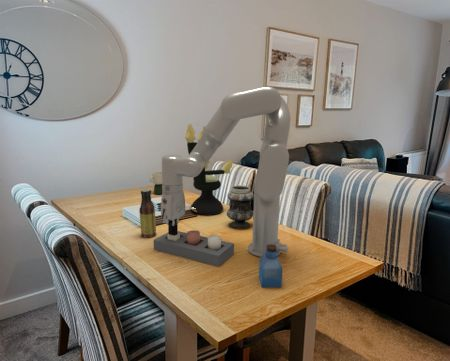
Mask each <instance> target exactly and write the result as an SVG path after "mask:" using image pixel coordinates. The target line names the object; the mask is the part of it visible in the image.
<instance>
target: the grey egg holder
mask: <svg viewBox="0 0 450 361" xmlns="http://www.w3.org/2000/svg"><path fill="white" fill-rule="evenodd" d="M178 233H180V239H178V240H176V241H174V240H169V239H168V238H167V234H168V231H167V232H165V233H163V234H162V235H160V236H158V237H156V238H155V239H153V250H154V251H156V252H161V253H164V254H168V255H172V256H177V257H181V258H184V259H188V260H191V261H196V262H200V263H203V264H207V265H211V266H215V267H218V268H219V267H220V266H221V265H222V264H223V263H225V262H226V261H227V260H228V259H229V258H230V257H232V256H233V255H234V254H235V243H234V242H229V241H225V240H221V249H219V250H218V251H215V250H211V249H208V237H207V236H202V235H200V243H199V244H198V245H196V246H195V245H190V244H187V232H184V231H180V230H178Z"/></svg>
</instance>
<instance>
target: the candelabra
mask: <svg viewBox="0 0 450 361" xmlns="http://www.w3.org/2000/svg"><path fill="white" fill-rule="evenodd" d="M205 127H206V125H203V127H202V129H201V131H200V133H199V134H198V136H197V137H196V136H195V134H196V131H195V129H194V127H193V125H192V123H188V125H187V128H186V131H185V135H184V138H185V140H186V143H187V144H186V146H187V152H188V155H189V154H190V153H191V152H192V150H193V149H194V147H195V146H196V145H197V143H198V142H199V140H200V138H201V136H202V134H203V131H204V129H205ZM196 138H197V139H196ZM196 140H197V142H196ZM209 164H210V160H209V161H208V163H207V164H206V165H205V167H204V168H203V170H202V171H201V173H200V174H199V175H198V176H196V177H192V178H193V185H192V186H193V187H194V188H195V190H198V191H200V192H201V194H200V196H198V197H197V198H196V199H195V200H194V201H193V202H192V204H191V205H190V208H191V207H194V208H196V210H197V215H202V216H203V215H204V216H211V215H217V214H220V213H221V212H222V211H223V210H224V204H222V202H221V201H220V199H218V198H217V197H216V196H215V195H214V194H213V193H214V192H213V191H217V190H218V189H220V188H221V185H222V182H221V180H220V179H218V178H217V177H216V175H225V174H231V169H232V168H233V158H232V157H231V158H230V159H229V160H228V161H226V163H224V164H223V165H224V166H223V167H222V169H213V170H212V169H211V170H206V169H208V166H209Z"/></svg>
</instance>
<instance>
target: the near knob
mask: <svg viewBox="0 0 450 361" xmlns="http://www.w3.org/2000/svg"><path fill="white" fill-rule="evenodd" d="M207 238H208V249H211V250H215V251H218V250H219V249H221V241H222V236H221V235H218V234H212V235H208V237H207Z"/></svg>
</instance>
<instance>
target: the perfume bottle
mask: <svg viewBox="0 0 450 361" xmlns="http://www.w3.org/2000/svg"><path fill="white" fill-rule="evenodd" d="M266 247H267V249H266V254H263V255H262V257H260V258H259V260H258V261H259V262H258V263H259V264H258V265H259V266H258V279H259V283H260V287H261V288H282V285H283V284H282V283H283V267H282V263H281V262H280V259H279V258H278V255H277V250H276V248H277V246H276V245H272V244H269V245H267V246H266Z"/></svg>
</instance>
